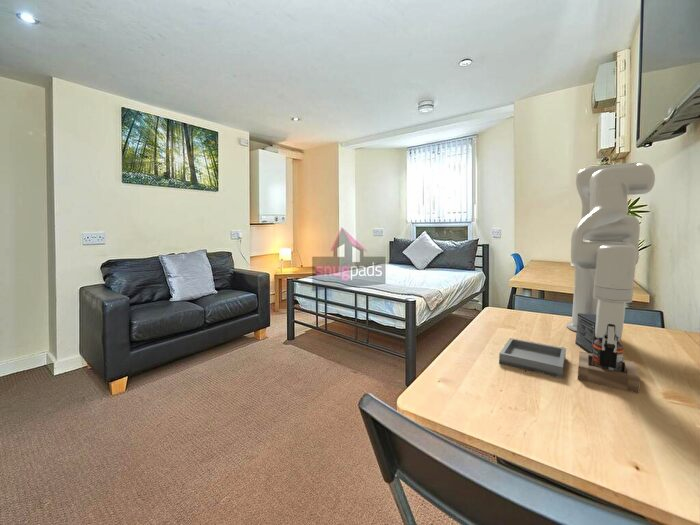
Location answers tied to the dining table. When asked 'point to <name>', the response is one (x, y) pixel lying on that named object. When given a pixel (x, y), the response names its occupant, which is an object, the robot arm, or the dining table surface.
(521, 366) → the tray
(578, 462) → the dining table surface
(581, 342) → the small box
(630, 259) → the robot arm
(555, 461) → the dining table surface
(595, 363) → the supplement bottle
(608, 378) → the holder block
